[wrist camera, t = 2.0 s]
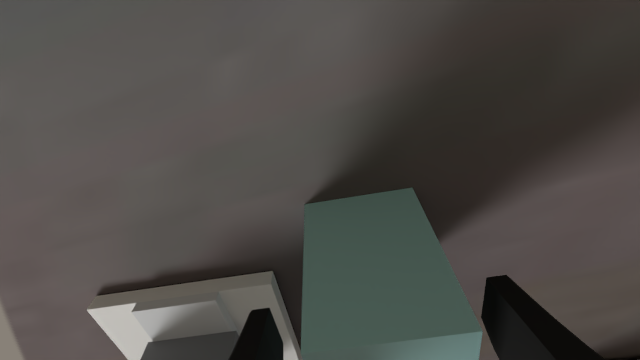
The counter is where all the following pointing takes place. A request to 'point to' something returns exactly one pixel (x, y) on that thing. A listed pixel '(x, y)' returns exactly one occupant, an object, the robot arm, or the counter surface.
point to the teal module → (380, 284)
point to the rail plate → (191, 318)
